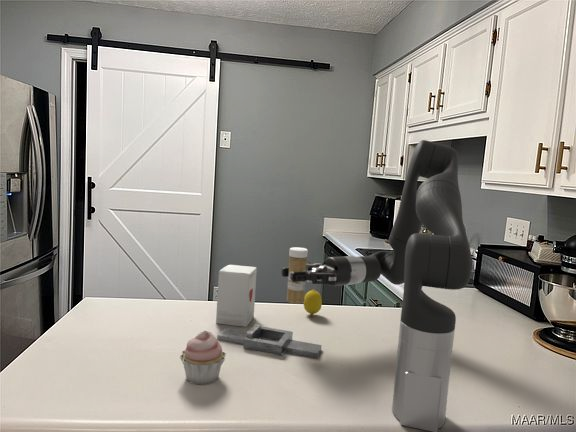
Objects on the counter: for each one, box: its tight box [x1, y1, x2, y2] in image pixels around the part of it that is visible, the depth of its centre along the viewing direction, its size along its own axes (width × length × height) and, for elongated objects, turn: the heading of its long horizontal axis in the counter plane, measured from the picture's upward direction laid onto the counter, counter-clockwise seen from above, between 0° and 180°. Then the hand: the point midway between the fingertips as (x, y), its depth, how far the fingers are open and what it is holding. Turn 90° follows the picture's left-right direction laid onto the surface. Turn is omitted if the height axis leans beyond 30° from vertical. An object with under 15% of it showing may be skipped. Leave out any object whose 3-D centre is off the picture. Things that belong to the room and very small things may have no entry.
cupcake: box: [179, 330, 227, 385], centre depth 84 cm, size 9×9×10 cm
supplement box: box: [215, 264, 258, 328], centre depth 117 cm, size 9×9×15 cm
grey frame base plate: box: [216, 323, 322, 359], centre depth 102 cm, size 10×26×3 cm, turn 74°
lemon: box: [303, 289, 323, 316], centre depth 125 cm, size 6×6×8 cm
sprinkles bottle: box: [286, 246, 309, 305], centre depth 103 cm, size 5×5×13 cm
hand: (287, 274), depth 101 cm, fingers closed on sprinkles bottle, 4 cm apart
